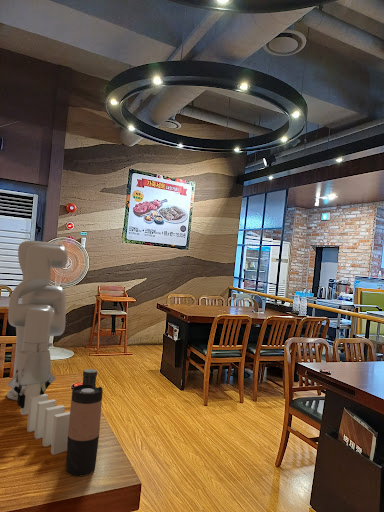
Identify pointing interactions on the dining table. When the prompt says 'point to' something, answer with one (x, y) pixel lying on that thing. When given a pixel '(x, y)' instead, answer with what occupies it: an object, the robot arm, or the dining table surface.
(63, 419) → the domino
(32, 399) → the domino
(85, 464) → the travel mug
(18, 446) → the dining table surface
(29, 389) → the domino
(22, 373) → the robot arm
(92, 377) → the sauce bottle
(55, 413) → the domino
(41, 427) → the domino
